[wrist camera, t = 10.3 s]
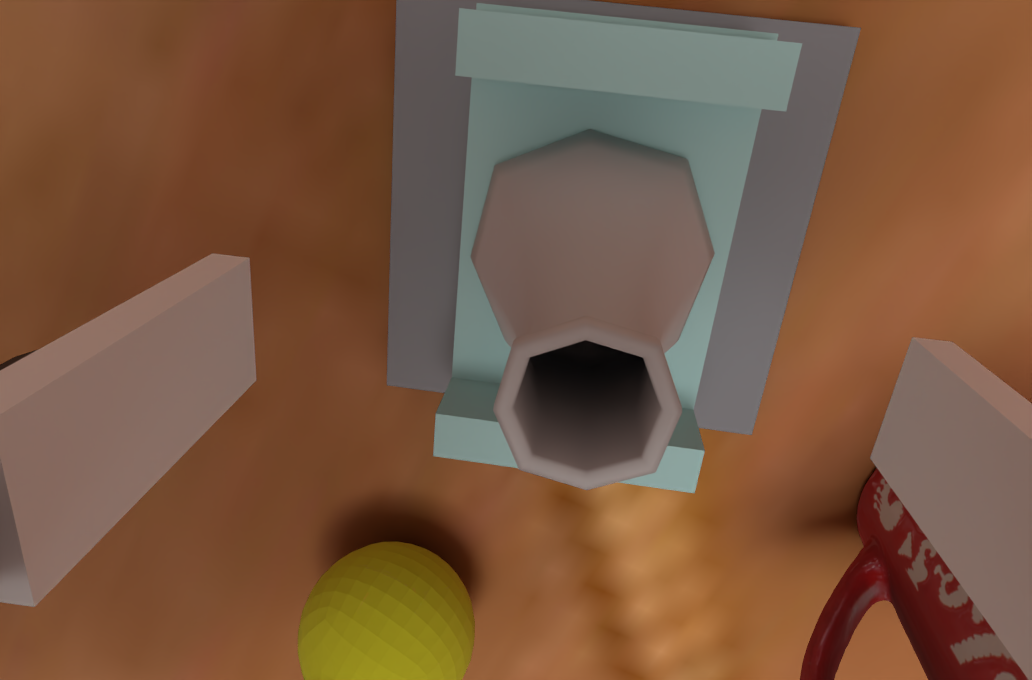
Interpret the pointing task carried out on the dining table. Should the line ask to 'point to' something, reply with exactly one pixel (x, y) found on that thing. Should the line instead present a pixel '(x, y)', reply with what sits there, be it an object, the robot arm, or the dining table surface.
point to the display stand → (623, 114)
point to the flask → (590, 302)
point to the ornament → (387, 618)
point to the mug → (906, 600)
